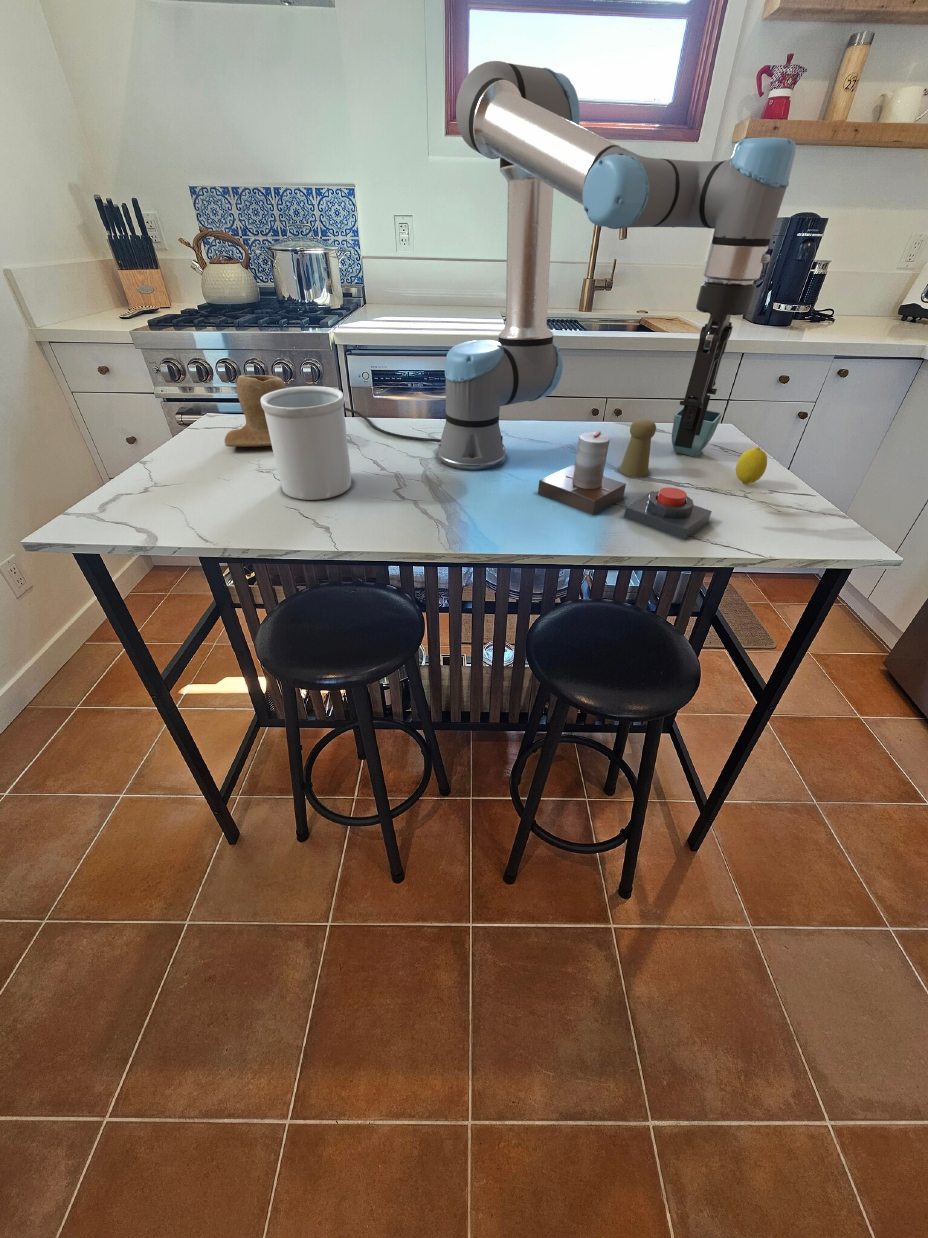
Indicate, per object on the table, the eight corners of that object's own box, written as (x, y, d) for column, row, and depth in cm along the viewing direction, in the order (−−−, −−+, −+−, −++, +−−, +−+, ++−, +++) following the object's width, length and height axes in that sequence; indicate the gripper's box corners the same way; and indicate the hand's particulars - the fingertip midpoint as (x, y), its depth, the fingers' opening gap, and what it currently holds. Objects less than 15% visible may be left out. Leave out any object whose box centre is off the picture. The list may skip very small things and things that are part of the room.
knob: (595, 491, 104) (604, 442, 98) (568, 484, 106) (575, 437, 100) (605, 481, 108) (614, 434, 102) (578, 475, 110) (585, 428, 104)
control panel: (537, 494, 110) (539, 479, 108) (569, 478, 116) (571, 464, 114) (592, 515, 103) (595, 499, 101) (623, 497, 109) (626, 482, 107)
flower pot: (711, 450, 131) (723, 412, 125) (702, 462, 125) (714, 422, 119) (674, 442, 134) (684, 405, 129) (664, 453, 128) (674, 414, 123)
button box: (623, 517, 102) (627, 497, 100) (650, 501, 108) (654, 482, 105) (683, 540, 96) (689, 519, 93) (708, 521, 101) (714, 501, 99)
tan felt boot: (298, 433, 135) (287, 367, 126) (295, 450, 126) (283, 381, 117) (234, 435, 133) (218, 369, 124) (226, 453, 123) (208, 383, 114)
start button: (652, 501, 99) (654, 492, 98) (664, 493, 102) (667, 484, 101) (676, 510, 97) (679, 500, 96) (689, 501, 100) (691, 492, 99)
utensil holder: (263, 485, 110) (244, 395, 100) (325, 465, 119) (313, 380, 108) (306, 509, 102) (289, 413, 92) (368, 485, 111) (360, 396, 100)
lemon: (759, 482, 116) (772, 445, 111) (758, 492, 112) (772, 454, 107) (731, 477, 118) (743, 440, 113) (729, 486, 114) (742, 449, 109)
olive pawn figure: (648, 478, 117) (661, 426, 110) (619, 475, 118) (630, 423, 111) (646, 467, 122) (658, 417, 115) (619, 464, 122) (629, 414, 116)
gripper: (749, 290, 70) (699, 463, 84) (764, 276, 84) (719, 427, 98) (689, 285, 73) (650, 453, 87) (713, 273, 87) (676, 420, 101)
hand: (687, 439), depth 93 cm, fingers open, 7 cm apart
